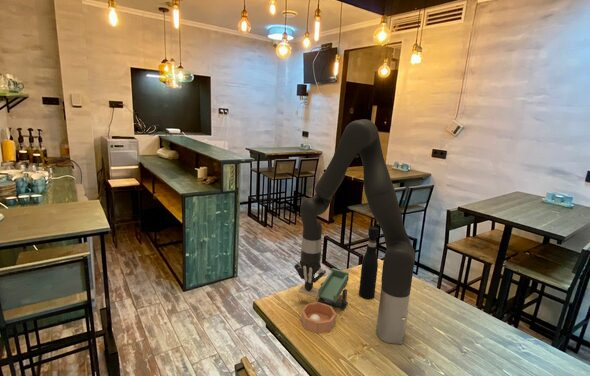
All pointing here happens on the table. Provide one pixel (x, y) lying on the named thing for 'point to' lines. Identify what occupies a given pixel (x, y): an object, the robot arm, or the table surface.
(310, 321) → the pink octagonal bowl
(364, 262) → the wine bottle
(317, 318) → the ball
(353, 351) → the table surface
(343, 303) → the chute stand
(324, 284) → the chute
